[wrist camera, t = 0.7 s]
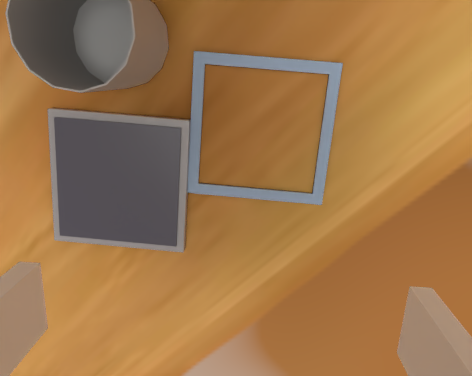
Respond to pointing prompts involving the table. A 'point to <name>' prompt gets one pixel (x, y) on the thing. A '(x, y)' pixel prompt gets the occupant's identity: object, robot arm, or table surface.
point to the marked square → (273, 64)
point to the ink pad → (119, 178)
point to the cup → (89, 42)
